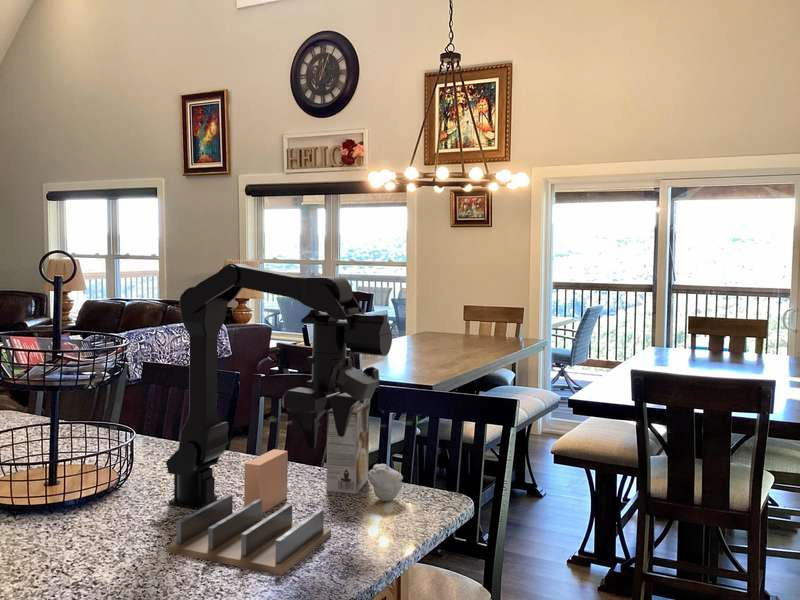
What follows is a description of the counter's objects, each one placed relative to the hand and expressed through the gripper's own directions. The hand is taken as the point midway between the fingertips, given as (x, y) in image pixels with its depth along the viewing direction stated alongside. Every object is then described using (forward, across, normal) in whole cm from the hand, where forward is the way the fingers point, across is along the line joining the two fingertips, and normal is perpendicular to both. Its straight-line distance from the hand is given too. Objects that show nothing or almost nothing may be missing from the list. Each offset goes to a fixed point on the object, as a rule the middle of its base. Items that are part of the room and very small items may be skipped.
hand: (327, 442), depth 123 cm
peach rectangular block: (+14, +2, +14) cm, 20 cm away
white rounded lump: (+14, +15, -4) cm, 21 cm away
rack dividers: (+14, -13, +5) cm, 20 cm away
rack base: (+14, -13, +5) cm, 20 cm away
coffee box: (+14, +19, +7) cm, 25 cm away
